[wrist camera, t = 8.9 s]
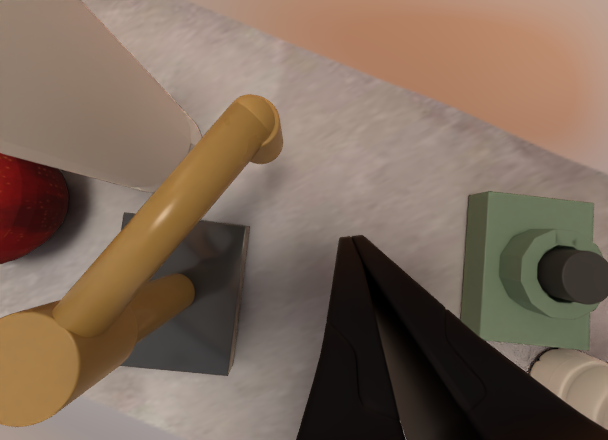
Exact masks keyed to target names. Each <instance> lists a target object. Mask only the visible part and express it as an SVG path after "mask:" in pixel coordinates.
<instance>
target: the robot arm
mask: <svg viewBox="0 0 608 440" xmlns="http://www.w3.org/2000/svg"><path fill="white" fill-rule="evenodd" d="M399 421H400V422H401V423H400V422H399ZM402 428H403V429H402ZM403 430H404V433H405V436H406V439H407V440H608V430H607V429H605V428H604V427H602V426H600V425H599V424H597V423H595V422H594V421H592V420H591V419H589V418H588V417H586V416H585V415H583V414H582V413H580V412H578V411H577V410H576V409H574V408H573V407H571V406H570V405H569V404H567V403H566V402H565V401H563V400H562V399H561V398H559V397H558V396H557V395H555V394H554V393H553V392H551V391H550V390H549V389H547V388H546V387H545V386H543V385H542V384H541V383H539V382H538V381H537V380H535V379H534V378H533V377H531V376H530V375H529V374H528V373H526V372H525V371H524V370H522V369H521V368H520V367H518V366H517V365H516V364H514V363H513V362H512V361H510V360H509V359H508V358H506V357H505V356H504V355H502V354H501V353H500V352H499V351H497V350H496V349H495V348H493V347H492V346H491V345H490V344H488V343H487V342H486V341H484V340H483V339H482V338H481V337H479V336H478V335H477V334H476V333H475V332H473V331H472V330H471V329H470V328H469V327H467V326H466V325H465V324H464V323H463V322H462V321H460V320H459V319H458V318H457V317H456V316H455V315H454V314H452V313H451V312H450V311H449V310H446V308H445V307H444V306H443V305H442V304H441V303H440V302H439V301H437V300H436V299H435V298H434V297H433V296H432V295H431V294H429V293H428V292H427V291H426V290H425V289H424V288H423V287H421V286H420V285H419V284H418V283H417V282H416V281H415V280H413V279H412V278H411V277H410V276H409V275H408V274H407V273H405V272H404V271H403V270H402V269H401V268H400V267H399V266H398V265H396V264H395V263H394V262H393V261H392V260H391V259H390V258H388V257H387V256H386V255H385V254H384V253H383V252H382V251H380V250H379V249H378V248H377V247H376V246H375V245H374V244H372V243H371V242H370V241H369V240H368V239H367V238H366V237H364V236H363V235H357V236H352V237H350V236H347V237H340V238H339V243H338V250H337V256H336V263H335V269H334V275H333V282H332V288H331V295H330V301H329V308H328V314H327V323H326V326H325V332H324V338H323V343H322V349H321V354H320V358H319V362H318V366H317V369H316V373H315V377H314V380H313V384H312V387H311V391H310V394H309V398H308V401H307V404H306V408H305V411H304V415H303V418H302V422H301V425H300V428H299V432H298V435H297V438H296V440H405V437H404V433H403Z"/></svg>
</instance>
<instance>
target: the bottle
mask: <svg viewBox="0 0 608 440" xmlns="http://www.w3.org/2000/svg"><path fill="white" fill-rule="evenodd" d="M201 138H202V136H201V133H200V131H199V128H198V126H197V125H196V123H195V122H194V121H193V120H192V119H191V118H190V117H189V115H188V114H187V113H186V112H185V111H184V110H183V109H182V108H181V107H180V106H179V105H178V104H177V103H176V102H175V101H174V100H173V98H172V97H171V96H170V95H169V94H168V93H167V92H166V91H165V90H164V89H163V88H162V87H161V86H160V84H159V83H158V82H157V81H156V80H155V79H154V78H153V77H152V76H151V75H150V74H149V73H148V72H147V71H146V69H145V68H144V67H143V66H142V65H141V64H140V63H139V62H138V61H137V60H136V59H135V58H134V57H133V56H132V55H131V53H130V52H129V51H128V50H127V49H126V48H125V47H124V46H123V45H122V44H121V43H120V42H119V41H118V40H117V38H116V37H115V36H114V35H113V34H112V33H111V32H110V31H109V30H108V29H107V28H106V27H105V26H104V25H103V23H102V22H101V21H100V20H99V19H98V18H97V17H96V16H95V15H94V14H93V13H92V12H91V11H90V10H89V9H88V7H87V6H86V5H85V4H84V3H83V2H82V1H81V0H0V153H2V154H5V155H9V156H13V157H17V158H20V159H24V160H28V161H32V162H35V163H39V164H43V165H47V166H50V167H54V168H58V169H62V170H65V171H69V172H73V173H77V174H80V175H84V176H88V177H92V178H95V179H99V180H103V181H107V182H110V183H114V184H119V185H123V186H126V187H129V188H133V189H137V190H141V191H145V192H150V193H154V192H155V191H156V190H157V189H158V188H159V187H160V186H161V184H162V183H163V182H164V181H165V180H166V179H167V177H168V176H169V175H170V174H171V173H172V172H173V171H174V169H175V168H176V167H177V166H178V165H179V164H180V163H181V161H182V160H183V159H184V158H185V157H186V156H187V154H188V151H189V148H190V151H191V150H192V149H193V148H194V146H195V145H196V144H197V143H198V142H199V141H200V139H201ZM190 144H191V147H190ZM190 151H189V152H190Z"/></svg>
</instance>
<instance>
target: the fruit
mask: <svg viewBox="0 0 608 440" xmlns="http://www.w3.org/2000/svg"><path fill="white" fill-rule="evenodd" d="M68 199H69V194H68V190H67V187H66V183H65V180H64V177H63V175H62V174H61V172H60V171H59V170H58V168H54V167H50V166H47V165H43V164H39V163H35V162H32V161H28V160H24V159H20V158H17V157H13V156H9V155H5V154H2V153H0V264H3V263H6V262H9V261H12V260H16V259H18V258H20V257H22V256H24V255H26V254H28V253H30V252H31V251H32V250H34V249H35V248H37V247H38V246H40V245H41V244H43V243H44V242H46V241H47V240H48V239H50V238H51V236H52V235H53V234H54V233H55V231H56V230H57V229H58V228H59V226H60V225H61V224H62V222H63V220H64V218H65V215H66V212H67V210H68Z"/></svg>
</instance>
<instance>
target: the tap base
mask: <svg viewBox="0 0 608 440" xmlns="http://www.w3.org/2000/svg"><path fill="white" fill-rule="evenodd" d="M134 215H135V214H134V213H124V215H123V221H122V228H121V230H122V229H123V228H124V227H125V226H126V225H127V224H128V222H129V221H130V220H131V219H132V218H133V217H134ZM249 231H250V226H244V225H235V224H226V223H217V222H208V221H199V222H198V223H197V224H196V225H195V227H194V228H193V229H192V230H191V231H190V233H189V234H188V235H187V236H186V237H185V238H184V240H183V241H182V242H181V243H180V244H179V246H178V247H177V248H176V249H175V250H174V251H173V253H172V254H171V255H170V256H169V257H168V259H167V260H166V261H165V262H164V263H163V265H162V266H161V267H160V268H159V269H158V270H157V272H156V273H155V274H154V275H153V276H152V278H151V279H150V280H149V281H148V282H147V283H146V285H145V286H144V287H143V288H142V289H141V291H140V292H139V293H138V294H137V295H136V296H135V298H134V299H133V300H132V301H131V302H130V304H129V306H130V307H131V309H132V311H133V312H134V315H135V317H136V321H137V327H138V333H137V340H136V343H135V346H134V348H133V350H132V352H131V354H130V355H129V357H128V358H127V359H126V360H125V361H124V362H123V363H122V364H121V365H120V366H128V367H139V368H149V369H160V370H170V371H181V372H192V373H202V374H213V375H223V376H228V374H229V372H230V370H231V368H232V366H233V362H234V353H235V345H236V337H237V329H238V321H239V313H240V304H241V296H242V288H243V280H244V272H245V264H246V256H247V247H248V239H249Z"/></svg>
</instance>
